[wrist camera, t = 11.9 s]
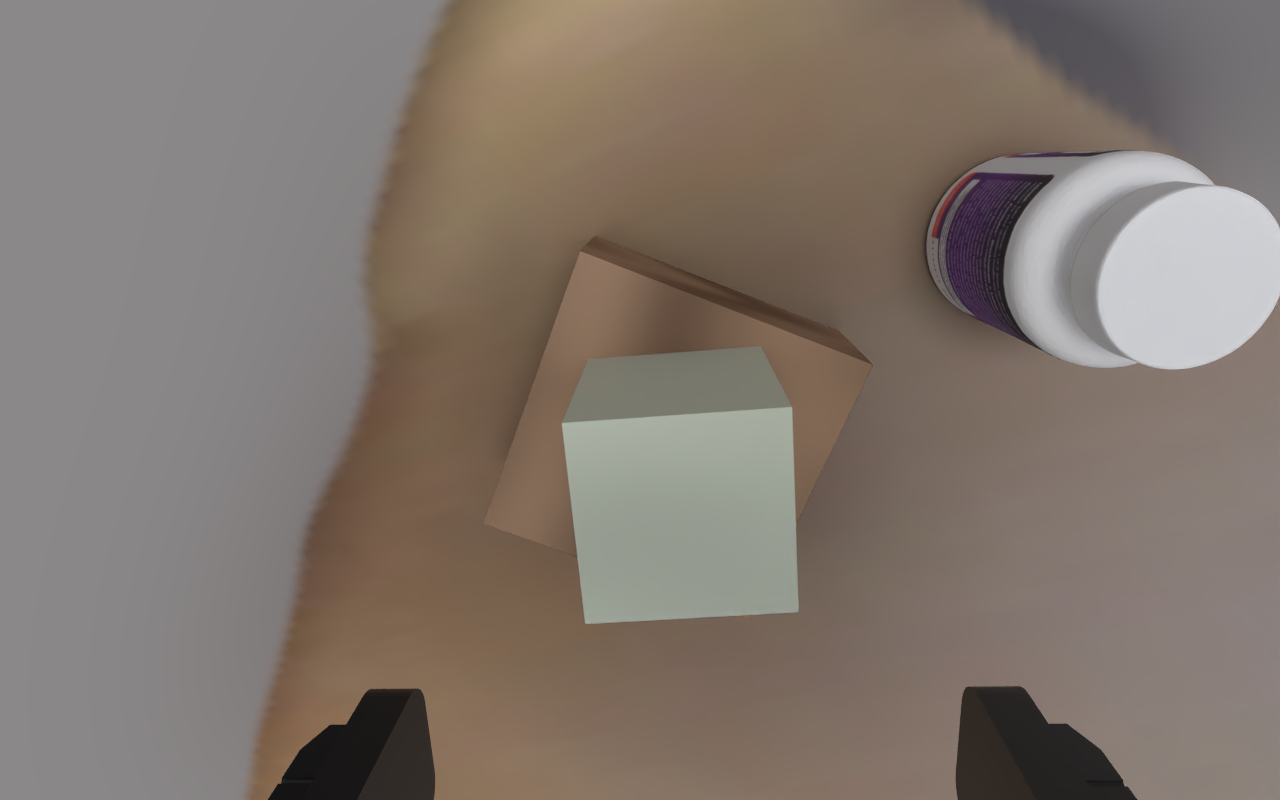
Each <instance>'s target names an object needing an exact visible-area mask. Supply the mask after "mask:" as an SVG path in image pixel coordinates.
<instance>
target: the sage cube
mask: <svg viewBox="0 0 1280 800" xmlns="http://www.w3.org/2000/svg"><path fill="white" fill-rule="evenodd" d="M562 430H563V438H564V447H565V455H566V464H567V472H568V481H569V489H570V498H571V506H572V515H573V523H574V532H575V540H576V549H577V557H578V566H579V574H580V583H581V591H582V600H583V608H584V617H585V624H593V623H611V622H629V621H647V620H665V619H684V618H702V617H720V616H738V615H756V614H774V613H792V612H799V607H798V576H797V544H796V513H795V481H794V450H793V419H792V406H791V404H790V402H789V400H788V398H787V396H786V394H785V392H784V390H783V388H782V386H781V384H780V382H779V380H778V379H777V377H776V375H775V373H774V371H773V369H772V367H771V365H770V363H769V361H768V359H767V357H766V355H765V353H764V351H763V349H762V347H761V346H757V347H744V348H730V349H717V350H704V351H690V352H677V353H663V354H650V355H637V356H623V357H610V358H596V359H588V361H587V364H586V366H585V368H584V371H583V373H582V376H581V378H580V380H579V383H578V385H577V388H576V390H575V392H574V395H573V397H572V400H571V402H570V404H569V407H568V409H567V412H566V414H565V416H564V419H563V421H562Z"/></svg>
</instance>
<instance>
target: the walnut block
mask: <svg viewBox="0 0 1280 800" xmlns="http://www.w3.org/2000/svg"><path fill="white" fill-rule="evenodd" d="M757 346H761V347H762V349H763V351H764V353H765V355H766V357H767V359H768V361H769V363H770V365H771V367H772V369H773V371H774V373H775V375H776V377H777V379H778V380H779V382H780V384H781V386H782V388H783V390H784V392H785V394H786V396H787V398H788V400H789V402H790V404H791V406H792V419H793V450H794V481H795V513H796V523H797V521H798V519H799V517H800V515H801V513H802V511H803V509H804V506H805V504H806V502H807V500H808V498H809V496H810V494H811V492H812V490H813V488H814V486H815V484H816V482H817V480H818V478H819V476H820V474H821V472H822V469H823V467H824V465H825V463H826V461H827V459H828V457H829V455H830V453H831V451H832V449H833V447H834V445H835V443H836V441H837V439H838V437H839V435H840V432H841V430H842V428H843V426H844V424H845V422H846V420H847V418H848V416H849V414H850V412H851V410H852V408H853V406H854V404H855V402H856V400H857V398H858V395H859V393H860V391H861V389H862V387H863V385H864V383H865V381H866V379H867V377H868V375H869V373H870V371H871V369H872V367H873V364H872V363H871V362H870V361H869V360H868V359H867V358H866V357H865V356H864V355H863V354H862V353H861V352H860V351H859V350H858V349H857V348H856V347H855V346H854V345H853V344H851V343H850V342H849V341H848V340H847V339H846V338H845V337H844V336H843V335H842V334H841V333H840V332H839V331H837V330H834V329H832V328H829V327H826V326H824V325H821V324H819V323H816V322H814V321H811V320H808V319H806V318H803V317H801V316H798V315H796V314H793V313H791V312H788V311H785V310H783V309H780V308H778V307H775V306H773V305H770V304H767V303H765V302H762V301H760V300H757V299H755V298H752V297H750V296H747V295H744V294H742V293H739V292H737V291H734V290H732V289H729V288H727V287H724V286H721V285H719V284H716V283H714V282H711V281H709V280H706V279H703V278H701V277H698V276H696V275H693V274H691V273H688V272H686V271H683V270H680V269H678V268H675V267H673V266H670V265H668V264H665V263H662V262H660V261H657V260H655V259H652V258H650V257H647V256H645V255H642V254H639V253H637V252H634V251H632V250H629V249H627V248H624V247H621V246H619V245H616V244H614V243H611V242H609V241H606V240H604V239H601V238H598V237H596V236H595V237H594V238H593V239H592V240H591V241H590V242H589V243H588V244H587V245H586V246H585V247H584V248H583V249H582V250H581V251H580V253H579V255H578V258H577V261H576V264H575V267H574V269H573V272H572V275H571V278H570V281H569V284H568V286H567V289H566V292H565V295H564V298H563V300H562V303H561V306H560V309H559V312H558V314H557V317H556V320H555V323H554V326H553V329H552V331H551V334H550V337H549V340H548V343H547V345H546V348H545V351H544V354H543V357H542V359H541V362H540V365H539V368H538V371H537V374H536V376H535V379H534V382H533V385H532V388H531V390H530V393H529V396H528V399H527V402H526V404H525V407H524V410H523V413H522V416H521V419H520V421H519V424H518V427H517V430H516V433H515V435H514V438H513V441H512V444H511V447H510V449H509V452H508V455H507V458H506V461H505V463H504V466H503V469H502V472H501V475H500V478H499V480H498V483H497V486H496V489H495V492H494V494H493V497H492V500H491V503H490V506H489V508H488V511H487V514H486V517H485V520H484V523H483V524H486V525H489V526H491V527H494V528H497V529H500V530H503V531H505V532H508V533H511V534H514V535H517V536H519V537H522V538H525V539H528V540H531V541H533V542H536V543H539V544H542V545H544V546H547V547H550V548H553V549H556V550H558V551H561V552H564V553H567V554H570V555H572V556H575V557H577V549H576V540H575V532H574V523H573V515H572V506H571V498H570V489H569V481H568V472H567V464H566V455H565V447H564V438H563V430H562V421H563V419H564V416H565V414H566V412H567V409H568V407H569V404H570V402H571V400H572V397H573V395H574V392H575V390H576V388H577V385H578V383H579V380H580V378H581V376H582V373H583V371H584V368H585V366H586V364H587V361H588V359H596V358H610V357H623V356H637V355H650V354H663V353H677V352H690V351H704V350H717V349H730V348H744V347H757ZM740 616H742V617H745V618H748V619H750V617H751V615H740Z"/></svg>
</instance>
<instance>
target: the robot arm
mask: <svg viewBox="0 0 1280 800" xmlns="http://www.w3.org/2000/svg"><path fill="white" fill-rule="evenodd" d="M956 790H957V797H958V800H1137V799H1136V797H1135V796H1134V795H1133V793H1132V792H1131V790H1130V789H1129V788H1128V787H1125V786H1124V784H1123V779H1122V778H1121V777H1120V775H1119V774H1118V773H1117V771H1116V770H1115V768H1114V767H1113V766H1112V764H1111V763H1110V762H1109V760H1108V759H1107V757H1106V756H1105V755H1104V753H1103V752H1102V750H1101V749H1099V748H1098V747H1097V746H1095V745H1094V744H1093V743H1091V742H1090V741H1089V740H1087V739H1086V738H1085V737H1084V736H1082V735H1081V734H1080V733H1078V732H1077V731H1076V730H1074V729H1073V728H1072V727H1070V726H1069V725H1068V724H1048V723H1047V721H1046V720H1045V718H1044V717H1043V715H1042V714H1041V712H1040V711H1039V709H1038V708H1037V706H1036V705H1035V703H1034V702H1033V700H1032V699H1031V697H1030V696H1029V694H1028V693H1027V691H1026V690H1025V689H1024V688H1022V687H1019V686H1005V687H967V688H966V689H965V690H964V693H963V696H962V705H961V717H960V729H959V741H958V753H957V765H956ZM434 793H435V771H434V763H433V756H432V749H431V742H430V735H429V727H428V720H427V713H426V706H425V700H424V696H423V693H422V691H421V690H420V689H370V690H368V691H367V692H366V693H365V694H364V696H363V697H362V699H361V701H360V702H359V704H358V706H357V707H356V709H355V711H354V712H353V714H352V716H351V717H350V719H349V721H348V722H347V724H346V725H329V726H328V727H327V728H326V729H325V730H323V731H322V732H321V733H320V734H319V735H317V736H316V737H315V738H314V739H313V740H311V741H310V742H309V743H308V744H307V745H305V746H304V747H303V748H302V749H301V750H300V751H299V753H298V754H297V756H296V757H295V759H294V760H293V762H292V763H291V765H290V766H289V768H288V769H287V771H286V773H285V774H284V776H283V777H282V782H281V784H278V785H277V786H276V788H275V789H274V791H273V792H272V794H271V796H270V797H269V799H268V800H434Z"/></svg>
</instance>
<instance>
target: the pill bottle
mask: <svg viewBox="0 0 1280 800" xmlns="http://www.w3.org/2000/svg"><path fill="white" fill-rule="evenodd" d="M926 247H927V259H928V265H929V269H930V272H931V274H932V277H933V279H934V281H935V283H936V285H937V287H938V288H939V290H940V291H941V293H942V294H943V295H944V296H945V297H946V298H947V299H948V300H949V301H950V302H951V303H952V304H953V305H955V306H956V307H957V308H959V309H960V310H962V311H963V312H965V313H967V314H969V315H970V316H972V317H974V318H976V319H978V320H980V321H983V322H985V323H987V324H989V325H991V326H994V327H996V328H998V329H1000V330H1002V331H1004V332H1006V333H1008V334H1010V335H1012V336H1014V337H1016V338H1018V339H1020V340H1022V341H1024V342H1026V343H1028V344H1030V345H1032V346H1034V347H1036V348H1038V349H1040V350H1042V351H1044V352H1046V353H1048V354H1050V355H1051V356H1054V357H1056V358H1058V359H1060V360H1064V361H1067V362H1070V363H1074V364H1078V365H1082V366H1087V367H1098V368H1113V367H1123V366H1128V365H1133V364H1137V363H1140V364H1143V365H1146V366H1149V367H1153V368H1159V369H1172V370H1177V369H1187V368H1193V367H1197V366H1200V365H1204V364H1207V363H1211V362H1213V361H1215V360H1217V359H1219V358H1221V357H1223V356H1225V355H1227V354H1229V353H1231V352H1233V351H1234V350H1236V349H1237V348H1238V347H1240V346H1241V345H1242V344H1244V343H1245V342H1246V341H1247V340H1248V339H1249V338H1251V337H1252V336H1253V335H1254V334H1255V333H1256V332H1257V330H1258V329H1259V328H1260V327H1261V326H1262V325H1263V323H1264V322H1265V321H1266V319H1267V318H1268V317H1269V315H1270V314H1271V312H1272V310H1273V309H1274V307H1275V305H1276V303H1277V300H1278V298H1279V296H1280V228H1279V225H1278V224H1277V222H1276V220H1275V218H1274V217H1273V216H1272V215H1271V213H1270V212H1269V211H1268V209H1267V208H1266V207H1265V206H1263V205H1262V204H1261V203H1260V202H1259V201H1257V200H1256V199H1254V198H1253V197H1251V196H1249V195H1247V194H1245V193H1243V192H1241V191H1238V190H1235V189H1232V188H1229V187H1223V186H1216V185H1214V183H1213V182H1212V181H1211V180H1210V179H1209V178H1208V177H1207V176H1206V175H1205V174H1203V173H1202V172H1201V171H1199V170H1198V169H1196V168H1195V167H1194V166H1192V165H1190V164H1188V163H1186V162H1185V161H1183V160H1180V159H1178V158H1175V157H1173V156H1169V155H1166V154H1162V153H1156V152H1149V151H1139V150H1116V151H1084V152H1047V153H1022V154H1013V155H1007V156H1003V157H998V158H995V159H992V160H989V161H987V162H984V163H982V164H980V165H978V166H976V167H975V168H973V169H971V170H970V171H969V172H967V173H966V174H964V175H963V176H962V177H961V178H960V179H958V180H957V181H956V182H955V183H954V184H953V185H952V186H951V187H950V189H949V190H948V191H947V192H946V194H945V195H944V196H943V198H942V199H941V201H940V202H939V204H938V206H937V208H936V210H935V212H934V214H933V216H932V219H931V222H930V226H929V229H928V234H927V243H926Z"/></svg>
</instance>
